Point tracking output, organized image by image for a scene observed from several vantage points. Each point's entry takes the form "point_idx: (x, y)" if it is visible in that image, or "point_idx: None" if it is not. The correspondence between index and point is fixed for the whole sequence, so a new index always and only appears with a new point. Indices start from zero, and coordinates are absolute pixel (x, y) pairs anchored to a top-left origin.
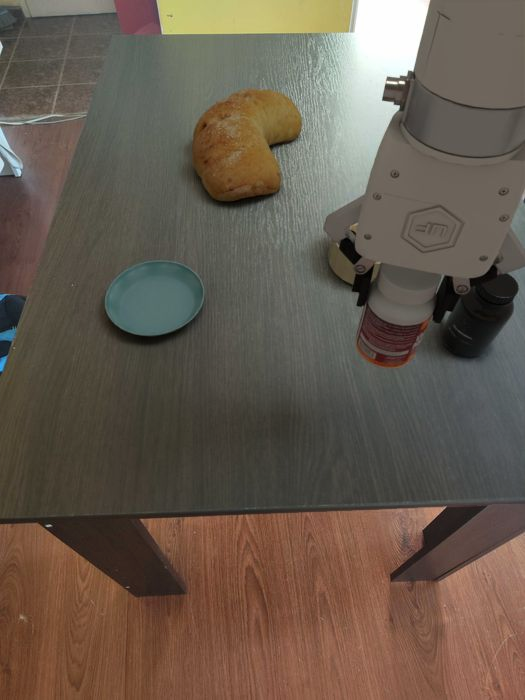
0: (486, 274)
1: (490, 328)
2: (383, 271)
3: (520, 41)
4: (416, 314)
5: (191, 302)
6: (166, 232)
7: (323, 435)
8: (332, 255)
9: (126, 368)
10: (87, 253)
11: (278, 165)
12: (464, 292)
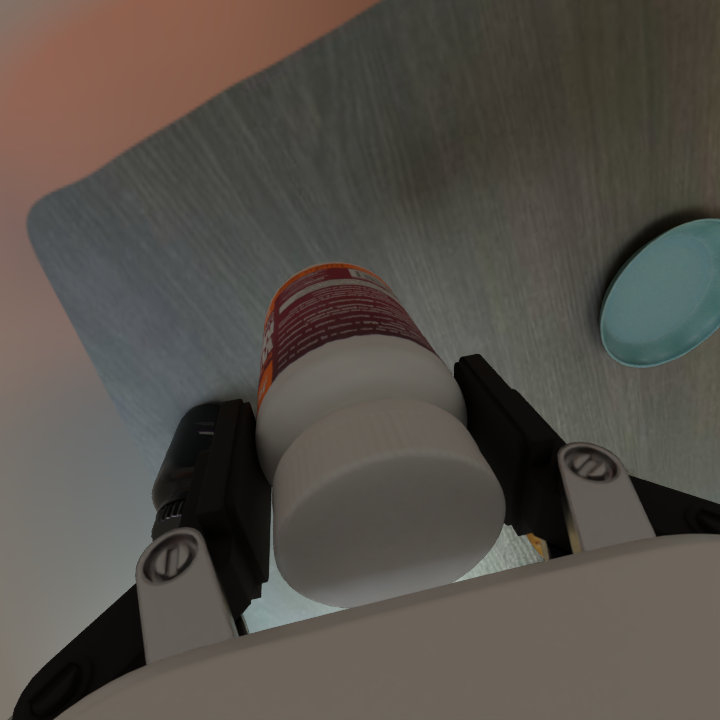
0: (62, 698)
1: (175, 458)
2: (495, 491)
3: None
4: (303, 391)
5: (608, 317)
6: (656, 406)
7: (354, 180)
8: None
9: (688, 161)
10: None
11: (539, 553)
12: (160, 544)
